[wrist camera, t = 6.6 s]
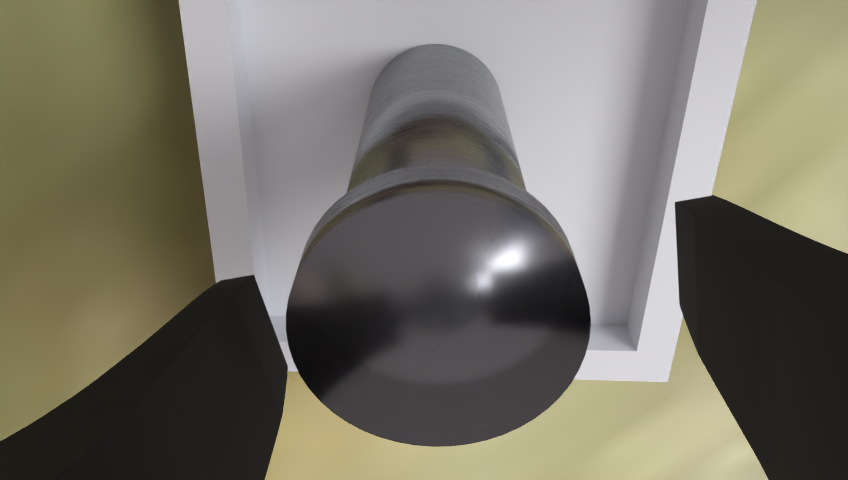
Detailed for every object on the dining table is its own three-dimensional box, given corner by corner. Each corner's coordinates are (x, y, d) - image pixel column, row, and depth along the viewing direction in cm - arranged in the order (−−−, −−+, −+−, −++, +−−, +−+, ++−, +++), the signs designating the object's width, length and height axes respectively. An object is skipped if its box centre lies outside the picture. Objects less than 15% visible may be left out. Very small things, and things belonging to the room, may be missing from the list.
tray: (745, -110, 16) (781, -105, 14) (650, 342, 21) (667, 381, 20) (189, -125, 16) (162, -122, 14) (243, 330, 21) (227, 369, 20)
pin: (502, 7, 16) (567, 165, 8) (531, 168, 18) (607, 420, 10) (331, 49, 17) (241, 235, 9) (377, 201, 19) (336, 466, 11)
